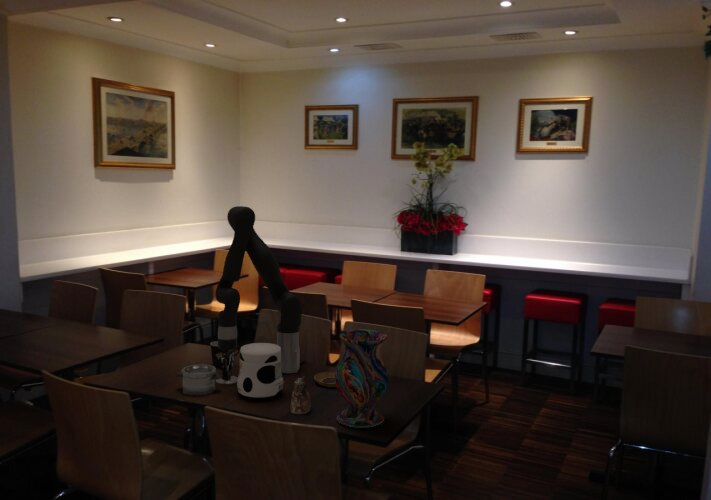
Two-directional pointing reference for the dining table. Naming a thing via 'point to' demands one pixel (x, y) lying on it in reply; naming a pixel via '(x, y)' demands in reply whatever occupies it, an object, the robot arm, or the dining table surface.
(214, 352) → the coffee mug
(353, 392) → the vase
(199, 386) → the pot
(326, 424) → the dining table surface
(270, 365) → the milk container
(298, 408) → the figurine
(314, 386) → the dining table surface
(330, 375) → the plant saucer
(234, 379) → the lid
